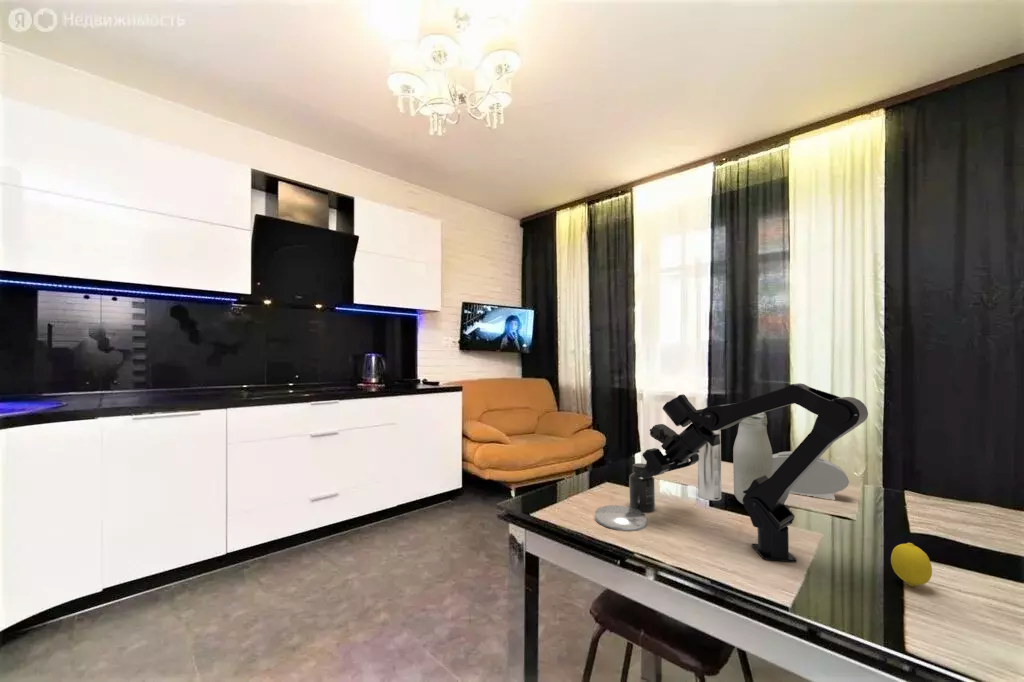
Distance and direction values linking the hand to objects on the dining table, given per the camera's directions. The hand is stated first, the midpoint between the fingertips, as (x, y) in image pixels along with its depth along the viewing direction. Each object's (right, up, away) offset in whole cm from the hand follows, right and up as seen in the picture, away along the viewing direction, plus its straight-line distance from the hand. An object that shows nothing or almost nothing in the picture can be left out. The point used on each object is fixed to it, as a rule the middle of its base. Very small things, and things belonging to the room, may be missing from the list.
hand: (652, 473), depth 112 cm
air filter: (+22, -11, +12) cm, 27 cm away
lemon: (+36, -10, -36) cm, 52 cm away
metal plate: (-11, -10, -6) cm, 16 cm away
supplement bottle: (-2, -11, +2) cm, 11 cm away
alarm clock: (+53, -12, +16) cm, 56 cm away
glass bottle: (+31, -11, +4) cm, 33 cm away
